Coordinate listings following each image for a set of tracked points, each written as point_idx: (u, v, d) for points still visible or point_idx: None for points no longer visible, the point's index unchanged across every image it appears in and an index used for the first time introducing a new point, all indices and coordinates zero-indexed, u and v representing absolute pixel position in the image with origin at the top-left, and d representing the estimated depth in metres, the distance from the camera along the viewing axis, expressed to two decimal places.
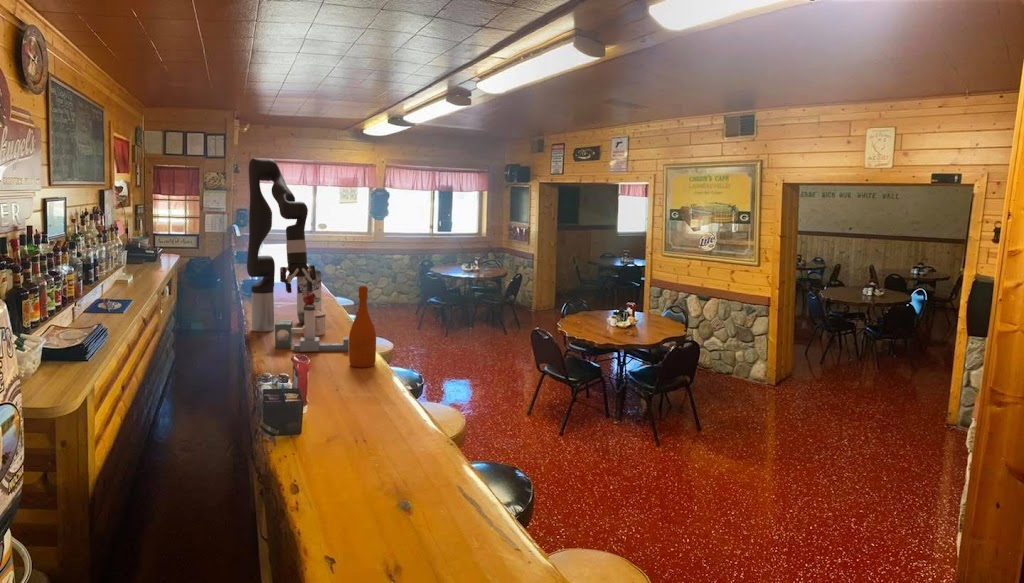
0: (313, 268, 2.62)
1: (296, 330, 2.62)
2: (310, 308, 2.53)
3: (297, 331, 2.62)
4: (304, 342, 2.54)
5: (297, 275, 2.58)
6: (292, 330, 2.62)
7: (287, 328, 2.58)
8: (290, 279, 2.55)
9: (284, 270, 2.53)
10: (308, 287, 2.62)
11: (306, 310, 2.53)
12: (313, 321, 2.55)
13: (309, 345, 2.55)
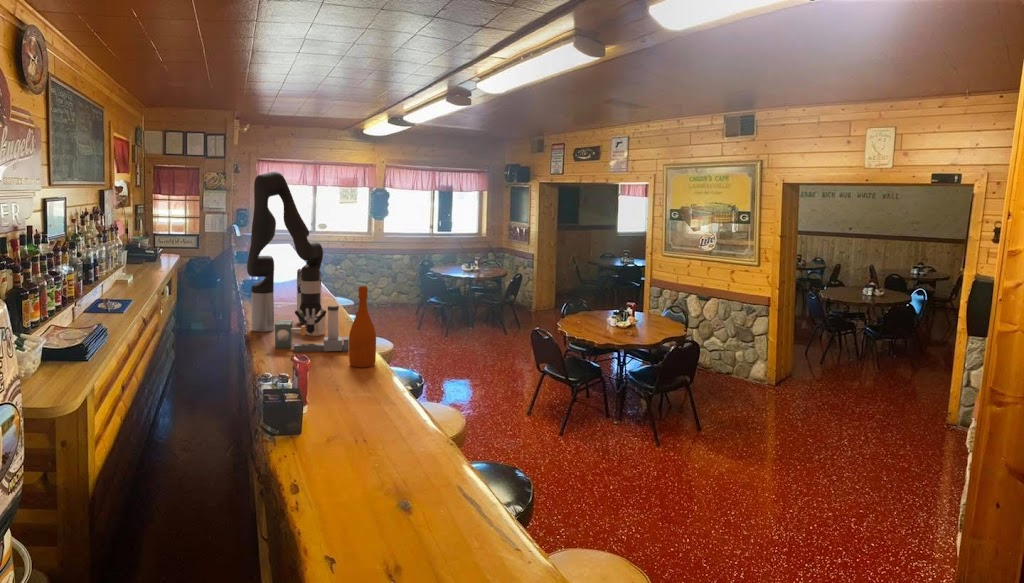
0: None
1: (294, 330, 2.62)
2: (334, 308, 2.55)
3: (295, 331, 2.62)
4: (328, 342, 2.56)
5: None
6: None
7: (287, 328, 2.58)
8: None
9: None
10: None
11: (330, 310, 2.56)
12: (336, 321, 2.57)
13: (333, 345, 2.57)
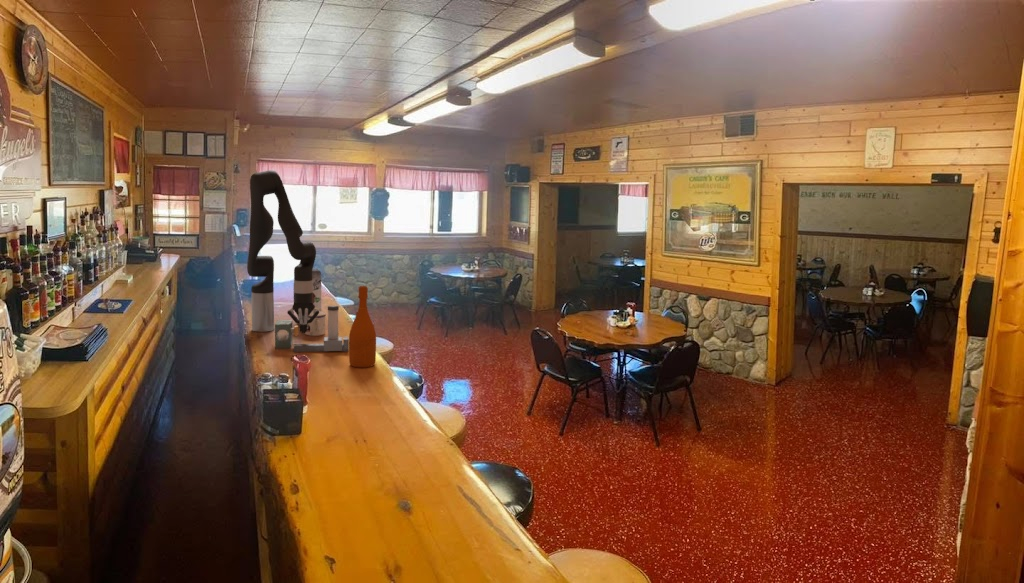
0: None
1: None
2: (334, 308, 2.55)
3: None
4: (328, 342, 2.56)
5: None
6: None
7: (287, 328, 2.58)
8: None
9: None
10: None
11: (330, 310, 2.56)
12: (336, 321, 2.57)
13: (333, 345, 2.57)
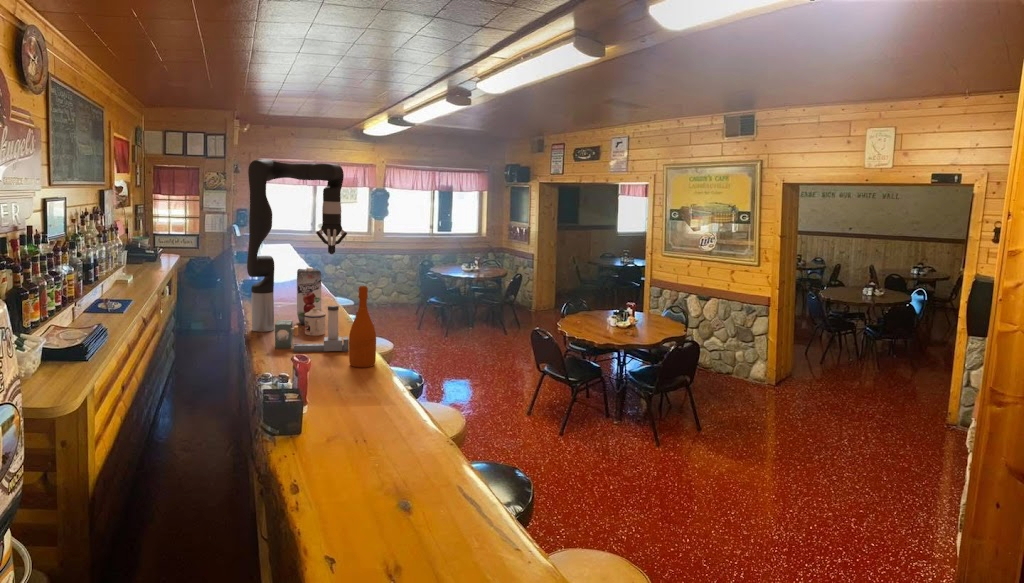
0: None
1: None
2: (334, 308, 2.55)
3: None
4: (328, 342, 2.56)
5: None
6: None
7: (287, 328, 2.58)
8: None
9: None
10: None
11: (330, 310, 2.56)
12: (336, 321, 2.57)
13: (333, 345, 2.57)
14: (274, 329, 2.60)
